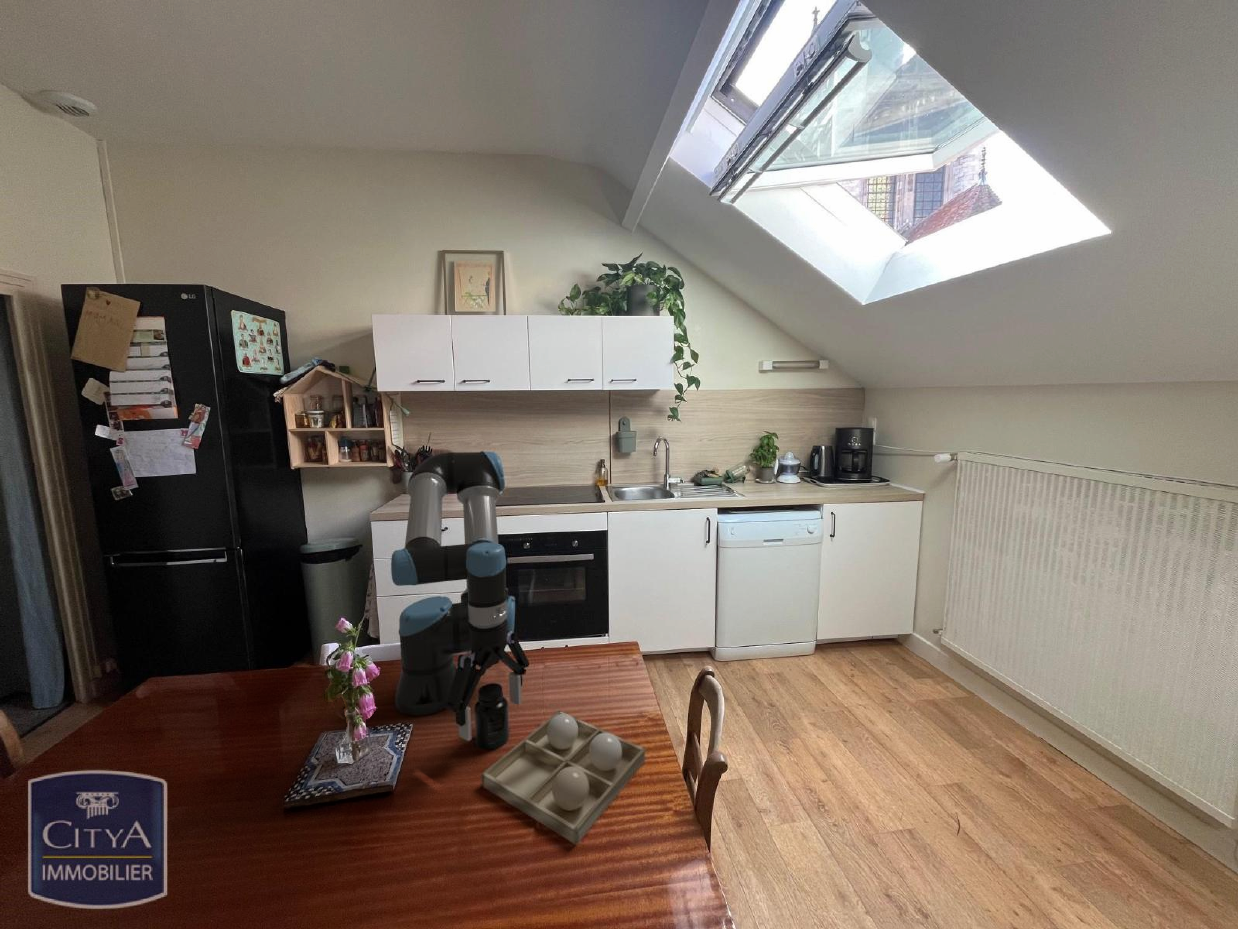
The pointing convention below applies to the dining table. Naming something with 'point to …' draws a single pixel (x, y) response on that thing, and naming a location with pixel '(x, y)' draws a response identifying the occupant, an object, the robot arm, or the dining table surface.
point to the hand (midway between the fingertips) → (491, 719)
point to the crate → (535, 767)
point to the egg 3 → (605, 752)
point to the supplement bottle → (491, 718)
